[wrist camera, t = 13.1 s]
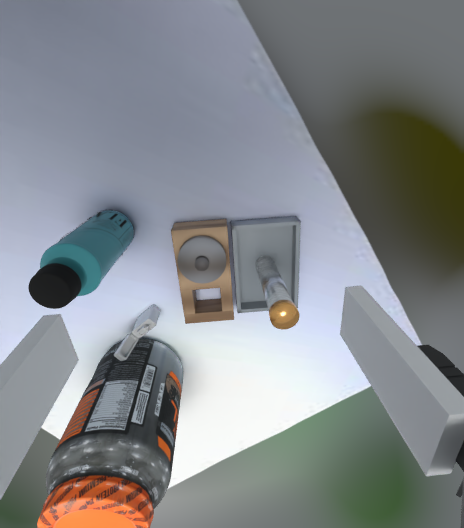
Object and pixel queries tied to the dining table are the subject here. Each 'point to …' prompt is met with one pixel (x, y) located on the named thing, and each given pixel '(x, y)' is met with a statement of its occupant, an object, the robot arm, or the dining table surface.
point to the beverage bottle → (81, 259)
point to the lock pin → (276, 294)
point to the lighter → (138, 332)
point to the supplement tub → (117, 443)
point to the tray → (259, 244)
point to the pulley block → (203, 268)
